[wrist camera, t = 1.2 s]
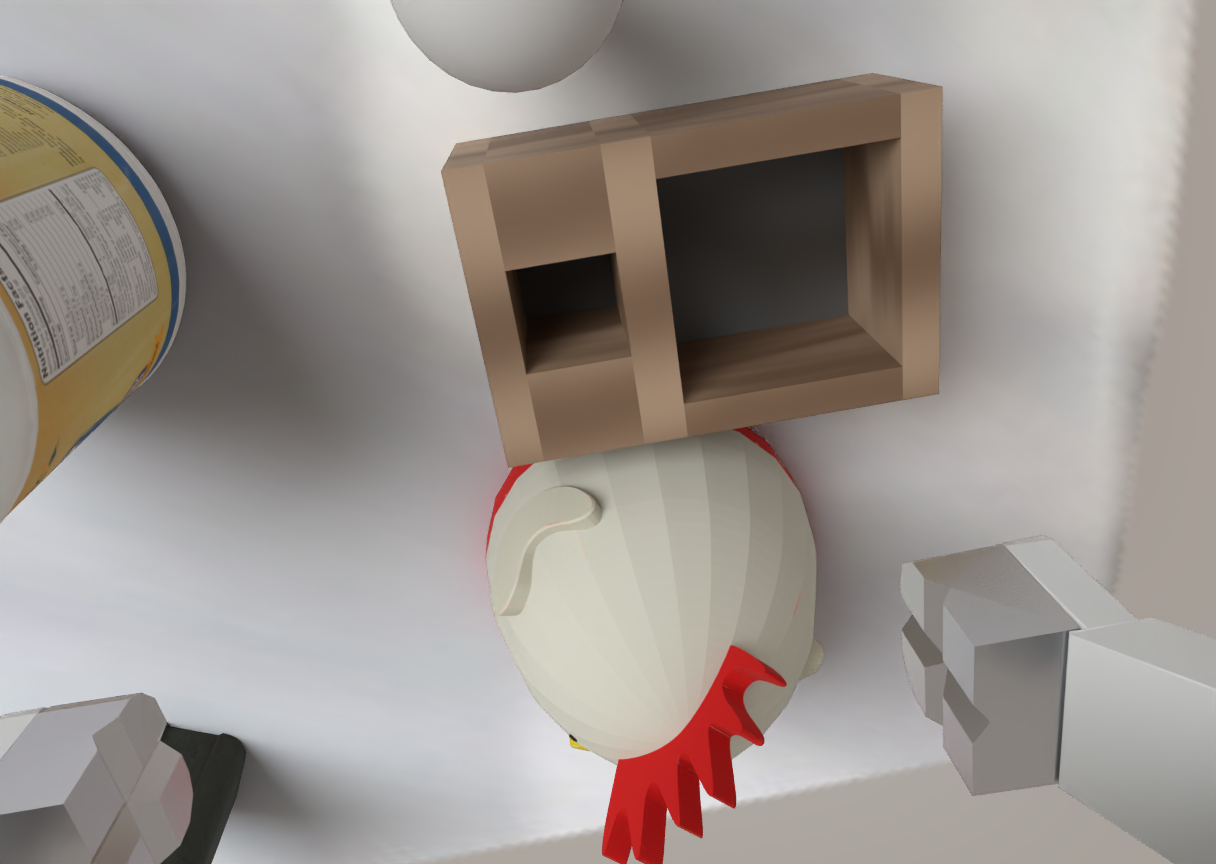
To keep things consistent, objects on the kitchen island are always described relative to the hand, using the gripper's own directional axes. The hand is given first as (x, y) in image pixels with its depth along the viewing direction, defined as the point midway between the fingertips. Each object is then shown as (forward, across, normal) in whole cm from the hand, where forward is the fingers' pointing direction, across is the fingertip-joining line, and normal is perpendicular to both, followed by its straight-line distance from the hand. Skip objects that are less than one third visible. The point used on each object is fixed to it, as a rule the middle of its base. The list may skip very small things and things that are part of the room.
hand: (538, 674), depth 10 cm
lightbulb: (+26, -1, -8) cm, 27 cm away
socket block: (+26, -5, +2) cm, 26 cm away
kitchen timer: (+26, -2, +14) cm, 30 cm away
